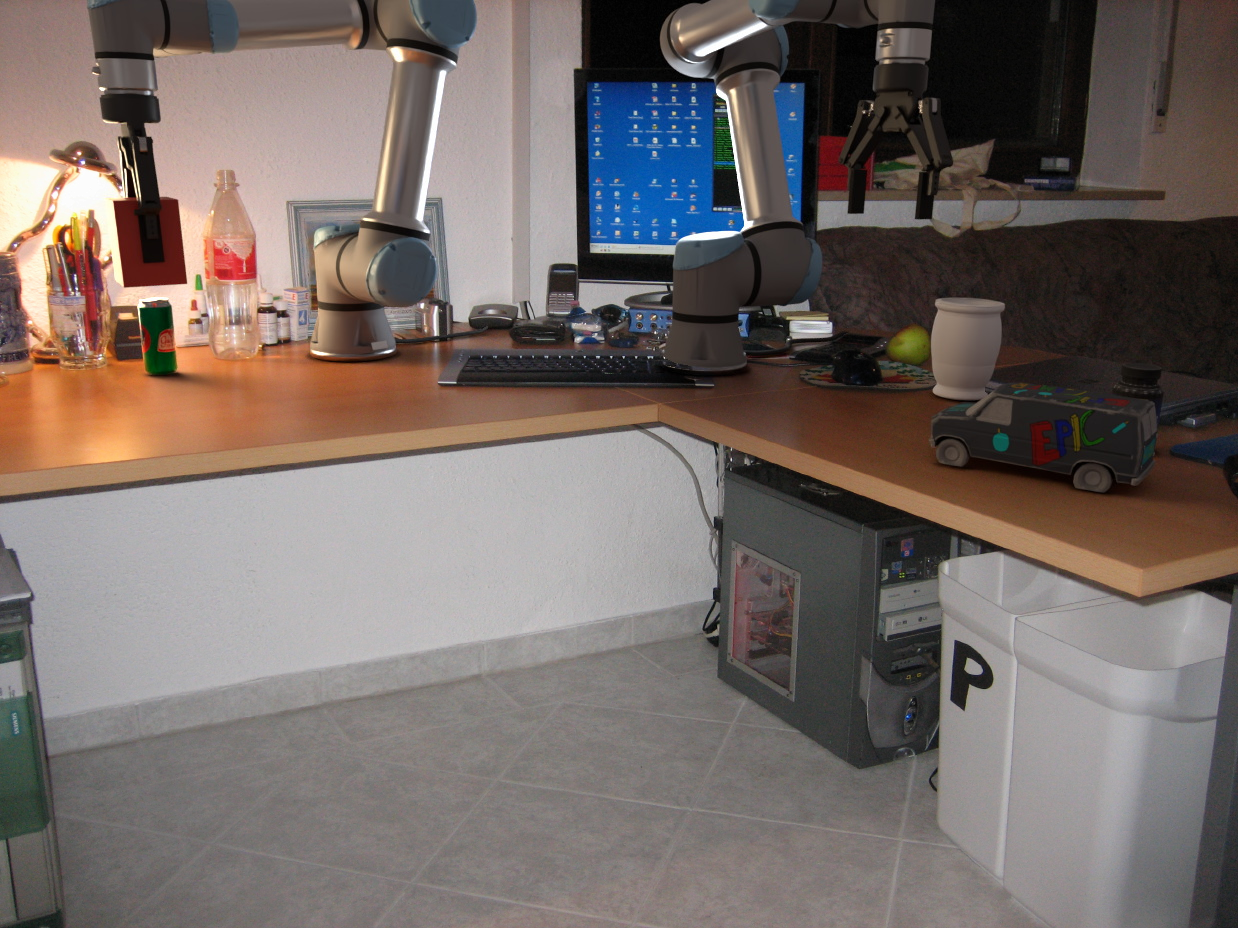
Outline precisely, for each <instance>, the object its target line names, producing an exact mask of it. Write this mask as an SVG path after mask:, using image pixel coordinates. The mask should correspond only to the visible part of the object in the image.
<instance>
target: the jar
mask: <svg viewBox="0 0 1238 928" xmlns="http://www.w3.org/2000/svg"><path fill="white" fill-rule="evenodd" d="M934 301H935V302H934V306H935V307H936V308H937V312H936V315H935V318H934V320H933V325H932V328H931V329H932V330H931V336H930V353H931V370H932V374H933V377H934V380H935V382H936V384H935V386H934V387H933V388H932V393H933V394H934V395H935V396H938V397H940V398H944V399H950V400H956V401H980V400H982V399H983V398H984V397H986V396H987V395H988V394H989V393H988V392H987V393H986V392H985V389H986V386H987V385H988V383H989V382H990V381H991V379H992V376H993V375H994V371H995V367H996V362H997V360H998V357H999V355H1000V350H1001V343H1002V338H1003V337H1002V334H1003V333H1002V331H1003V325H1002V319H1001V313H1002V312H1004V311H1005V309H1006V304H1005V302H1001V301H997V300H992V299H988V298H987V299H986V298H978V297H977V298H976V297H941V298H937V299H935V300H934Z"/></svg>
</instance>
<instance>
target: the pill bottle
mask: <svg viewBox="0 0 1238 928" xmlns="http://www.w3.org/2000/svg"><path fill="white" fill-rule="evenodd" d="M1162 371H1163V367H1161V366H1158V365H1155V364H1149V363H1142V362H1141V363H1140V362H1126V363H1122V365H1121V369H1120V375H1121V380H1119V381H1116V382H1115V383H1114V384H1113V385H1112V388H1111V394H1110V395H1115V396H1122V397H1128V398H1135V399H1141V400H1148V401H1152V402H1154V403H1155V410H1156V421H1157V430H1158V428H1159V424H1160V419H1161V418H1160V417H1161V412H1162V407H1163V399H1164V395H1165V391H1164V389H1163V387H1162V386H1161V385H1159V383H1158V381H1159V380H1160V379H1161V377H1162ZM1158 431H1159V430H1158Z"/></svg>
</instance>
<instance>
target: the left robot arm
mask: <svg viewBox="0 0 1238 928" xmlns="http://www.w3.org/2000/svg"><path fill="white" fill-rule="evenodd" d="M86 3H87V5H86V9H87V12H88V18H89V19H88V20H89V26H90V32H91V39H92V45H93V52H94V59H95V66H91V73H92V74H94V75H98V76H97V86H98V89H99V90H100V91H103V94H101V95H100V97H99V104H100V112H101V119H102V121H103V122H104V123H106V124H120V135H118V136H117V137H116V143H117V144H116V145H117V147H118V153H119V162H120V171H121V172H120V174H121V182H122V184H121V185H122V194H123V198H124V197H137V202H138V208H139V209H134V215H135V216H138V222H139V230H140V238H141V247H142V255H143V263H159V262H165V259H164V251H163V242H162V233H161V225H160V216H159V212H160V211H161V210H162V205H161V202H160V197H161V196H160V189H159V182H158V176H157V168H156V163H155V155H154V139H153V137H152V136H148V135H147V130H146V127H145V126H146V125H145V124H160V123H161V122H162V121H161V120H162V116H161V115H162V114H161V107H160V99H159V98H158V96H157V95H155V92H157V91H158V90H159V86H158V78H157V77H158V76H157V69H156V61H155V59H163V58H167V57H176V56H191V55H199V54H211V55H215V54H230V53H233V52H246V51H247V52H248V51H260V50H261V51H262V50H275V49H290V48H303V47H304V48H306V47H307V48H308V47H319V46H335V45H341V46H342V47H343V48H344V49H346V50H349V51H356V50H357V51H359V50H369V51H370V50H373V51H385V54H386V55H387V56H388V58H389V59H390V60H391V62H392V71H391V79H390V86H389V92H388V99H387V105H386V112H385V120H384V126H383V134H382V140H381V145H380V151H379V158H378V159H379V160H378V166H377V172H376V179H375V186H374V192H373V199H372V207H371V210H370V211H369V212H368V213H366V214H365V215H363V216H362V217H361V218H360V223H356V224H355V223H353V224H341V225H328V226H322V227H319V228H317V229H315V231H314V236H313V248H312V249H313V254H314V269H315V280H316V284H315V285H316V297H317V310H318V311H317V316H316V321H315V323H314V327H313V331H312V335H311V338H310V342H309V355H310V356H311V357H312V358H314V359H317V360H323V361H331V362H366V361H376V360H382V359H387V358H390V357H394V356H395V355H396V354H397V344H408V345H409V344H418V343H427V342H433V341H434V342H435V341H439V340H447V339H453V338H462V337H469V336H475V335H478V334H482V333H484V332H485V331H487V330H488V326H486V327H484V326H483V327H484V328H483V329H481V328H477V329H473V330H468V331H461V332H453V333H447V334H448V335H444V334H440V335H441V336H438V335H431V336H426V337H425V336H424V337H418V338H417V337H415V338H395V337H394V333H393V331H392V329H391V325H390V323H389V320H388V317H387V314H386V311H385V307H388V308H408V307H411V306H415V305H417V304H419V303H420V302H421V301H422V300H424V299H425V298H426V297H428V295H429V294H430V293H431V291H432V290H433V288H434V285H435V283H436V280H437V275H438V262H437V258H436V256H435V255H434V253H433V250H432V249H431V247H430V238H431V230H430V229H429V228H428V225H426V223H425V221H424V217H425V211H426V206H427V205H426V203H427V198H428V191H429V186H430V180H431V173H432V167H433V160H434V155H435V154H434V153H435V147H436V141H437V135H438V134H437V133H438V128H439V121H440V116H441V108H442V102H443V95H444V90H445V83H446V77H447V76H448V75H449V74H450V73H452V72H453V71H454V70H456V69H457V67H458V66H457V65H458V59H459V54H460V48H461V47H463V46H465V45H466V44H467V43H468V42H470V40H471V39H472V38H473V36H474V35H475V33H476V30H477V29H476V28H477V23H478V12H477V7H476V3H475V0H86Z"/></svg>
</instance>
